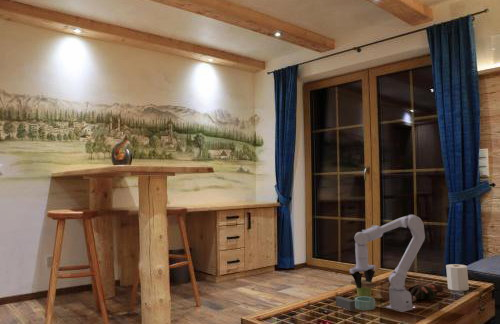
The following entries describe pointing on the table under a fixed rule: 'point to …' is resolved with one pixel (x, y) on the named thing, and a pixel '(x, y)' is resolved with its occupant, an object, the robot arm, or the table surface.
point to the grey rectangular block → (345, 303)
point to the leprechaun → (425, 291)
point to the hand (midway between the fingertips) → (363, 286)
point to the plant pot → (364, 291)
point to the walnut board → (365, 284)
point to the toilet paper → (457, 277)
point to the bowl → (365, 303)
